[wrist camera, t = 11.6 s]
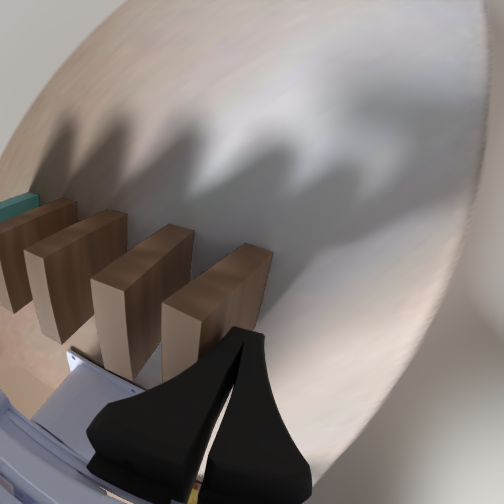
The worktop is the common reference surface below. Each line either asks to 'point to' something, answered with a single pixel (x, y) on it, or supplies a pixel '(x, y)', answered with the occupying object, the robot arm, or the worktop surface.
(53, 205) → the domino
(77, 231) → the domino
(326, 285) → the worktop surface
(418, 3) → the worktop surface
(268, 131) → the worktop surface
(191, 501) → the sauce bottle
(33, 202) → the domino
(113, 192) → the worktop surface
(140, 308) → the domino
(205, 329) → the domino
